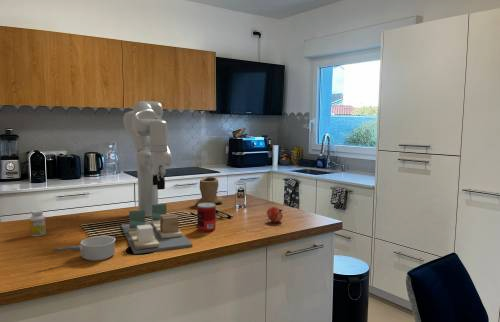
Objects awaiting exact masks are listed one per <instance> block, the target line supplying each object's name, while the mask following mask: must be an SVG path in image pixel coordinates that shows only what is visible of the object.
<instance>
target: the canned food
mask: <svg viewBox="0 0 500 322" xmlns="http://www.w3.org/2000/svg"><path fill="white" fill-rule="evenodd" d="M216 206H217V205H216V203H200V204H199V203H197V207H196V208H197V212H196V213H197V222H196V224H197V230H198V231H199V232H201V233H210V232H214V231H215V230H216V222H217V221H216V218H217V217H216V214H217V213H216V212H217V211H216V209H217V207H216Z"/></svg>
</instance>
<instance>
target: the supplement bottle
mask: <svg viewBox="0 0 500 322" xmlns="http://www.w3.org/2000/svg"><path fill="white" fill-rule="evenodd" d="M43 214H44V210H42V209H35V210H32V211H31V216H30V217H29V228H30V229H29V230H30V236H32V237H40V236H45V235H46V233H47V232H46V216H45V215H43Z"/></svg>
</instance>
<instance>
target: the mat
mask: <svg viewBox="0 0 500 322" xmlns="http://www.w3.org/2000/svg"><path fill="white" fill-rule="evenodd" d="M149 224H150V225H151V226H152V224H151V221H145V225H149ZM120 226H121V230H122V231H123V234H124V235H125V238H126V240H127V242H128V244H129V247H130V248H131V251H132V253H133V255H137V254H138V255H140V254H146V253H148V254H149V253H155V252H156V253H157V252H163V251H169V250H178V249H184V248H193V243H192V242H191V240H189V239H188V238H187V237H186V236H185V235H184V234H183V233H182V236H177V237H169V238H161V236H160V235H159V234H158V232H157V231H156V230H155V228H154V227H153V226H152V227H153V235H154V237H155V238H156V239H157V241H158V242H159V247H152V248H145V249H136V247H135V245H134V243H133V241H132V239H131V236H130V235H129V233H128V229H130V223H121V225H120ZM133 236H134V235H133Z"/></svg>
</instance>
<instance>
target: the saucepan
mask: <svg viewBox="0 0 500 322" xmlns="http://www.w3.org/2000/svg"><path fill="white" fill-rule="evenodd" d="M115 241H116V237H113V236H109V235H97V236H91V237H87V238H86V237H85V238H84V239H82V240H81V241H80V242H79V245H75V246H73V245H72V246H64V247H59V248H53V249H52V252H53V253H54V252H55V253H56V252H63V251H70V250H71V251H74V252H80V251H81V252H80V253H81V258H83V259H84V260H87V261H92V262H93V261H95V262H96V261H103V260H106V259H109V258H110V257H112V256H114V255H115V253H116V252H115V251H116V247H115V243H116V242H115Z"/></svg>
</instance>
